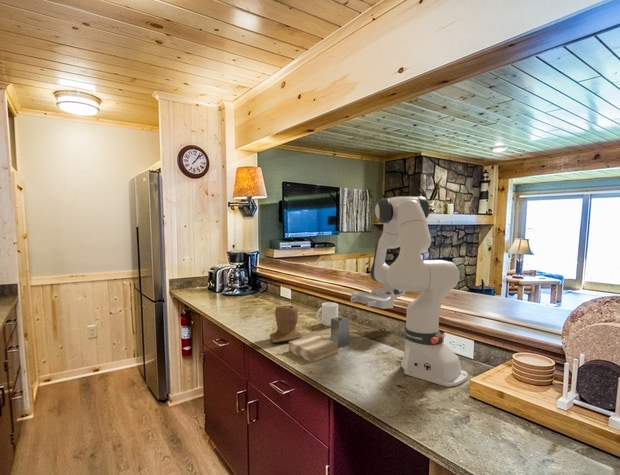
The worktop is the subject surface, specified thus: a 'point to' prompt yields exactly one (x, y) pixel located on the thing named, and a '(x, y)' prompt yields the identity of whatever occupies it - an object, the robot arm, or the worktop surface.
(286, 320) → the brown piece
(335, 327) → the block
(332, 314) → the mug
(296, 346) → the maple stand
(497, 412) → the worktop surface
